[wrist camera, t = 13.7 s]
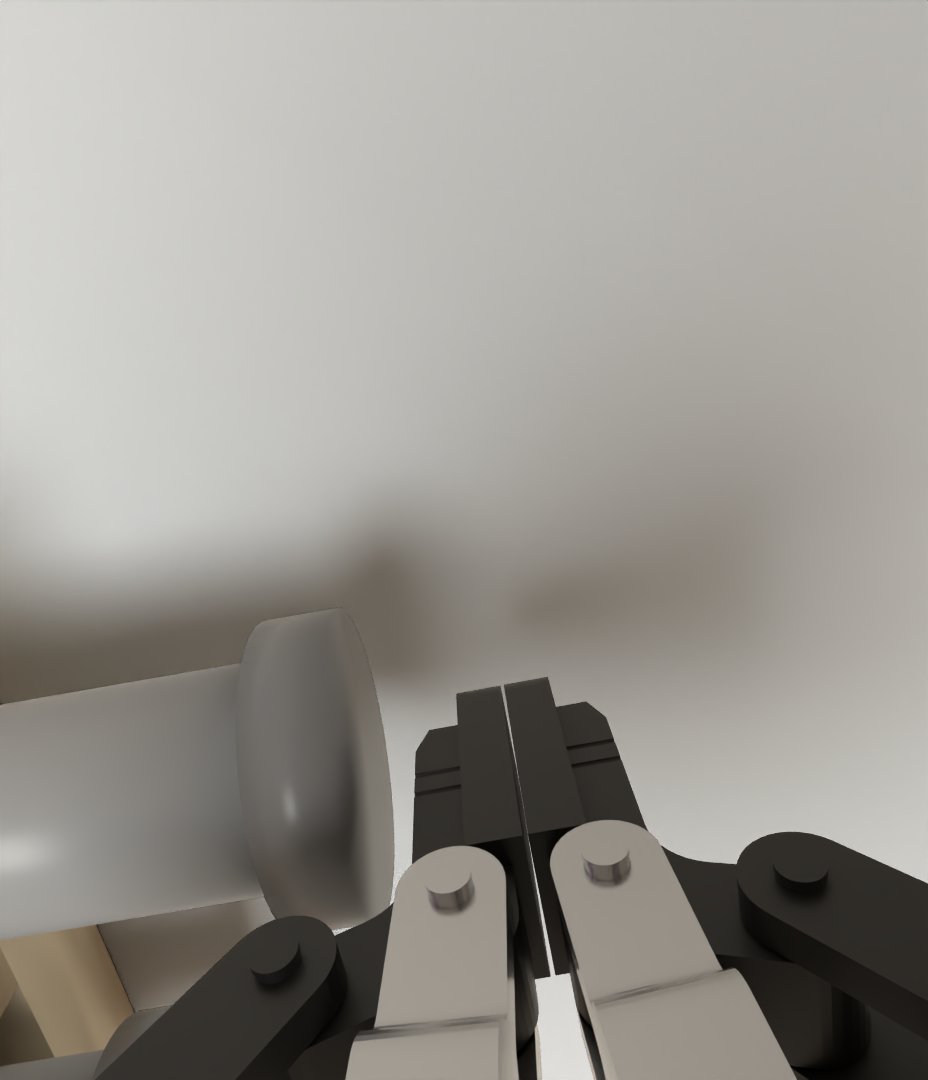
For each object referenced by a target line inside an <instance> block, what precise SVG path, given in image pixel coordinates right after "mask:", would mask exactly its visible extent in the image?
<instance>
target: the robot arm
mask: <svg viewBox="0 0 928 1080" xmlns="http://www.w3.org/2000/svg"><path fill="white" fill-rule="evenodd" d="M504 688H505V695H506V701H507V707H508V713H509V719H510V726H511V732H512V738H513V744H514V751H515V757H516V763H517V768H516V763H515V758H514V753H513V748H512V743H511V737H510V732H509V727H508V722H507V717H506V712H505V707H504V702H503V696H502V692H501V687H500V686H496V687H490V688H485V689H479V690H474V691H468V692H463V693H457V694H456V699H457V718H458V725H455V726H449V727H444V728H438V729H433V730H429V731H428V733H427V735H426V736H425V738H424V739H423V741H422V743H421V744H420V746H419V747H418V749H417V751H416V760H415V777H416V778H415V791H414V793H415V797H414V822H413V853H412V865H411V866H410V867H409V868H408V869H407V870H406V871H405V873H404V874H403V875H402V877H401V878H400V880H399V882H398V885H397V888H396V892H395V897H394V902H393V903H392V904H391V905H390V906H389V907H388V908H387V909H385V910H384V911H383V912H381V913H380V914H378V915H377V916H375V917H374V918H372V919H370V920H368V921H366V922H364V923H362V924H360V925H357V926H355V927H353V928H351V929H349V930H346V931H344V932H342V933H340V934H338V935H335V936H334V934H333V932H332V930H331V929H330V928H329V927H328V926H327V925H326V924H325V923H324V922H322V921H321V920H319V919H316V918H313V917H309V916H288V917H283V918H279V919H276V920H273V921H271V922H268V923H266V924H264V925H262V926H260V927H258V928H256V929H255V930H253V931H252V932H250V933H249V934H248V935H246V936H245V937H244V938H243V939H242V940H241V941H239V942H238V943H237V944H236V945H235V946H234V947H233V948H232V949H231V950H230V951H229V952H228V953H227V954H226V955H225V956H224V957H223V958H222V959H221V960H219V961H218V962H217V963H216V964H215V965H214V966H213V967H212V968H211V969H210V970H209V971H208V972H207V973H206V974H205V975H204V976H203V977H202V978H201V979H200V980H199V981H197V982H196V983H195V984H194V985H193V986H192V987H191V988H190V989H189V990H188V991H187V992H186V993H185V994H184V995H183V996H182V997H181V998H180V999H179V1000H178V1001H177V1002H175V1003H174V1004H173V1005H172V1006H171V1007H170V1008H169V1009H168V1010H167V1011H166V1012H165V1013H164V1014H163V1015H162V1016H161V1017H160V1018H159V1019H158V1020H157V1021H156V1022H155V1023H154V1024H152V1025H151V1026H150V1027H149V1028H148V1029H147V1030H146V1031H145V1032H144V1033H143V1034H142V1035H141V1036H140V1037H139V1038H138V1039H137V1040H136V1041H135V1042H134V1043H133V1044H132V1045H130V1046H129V1047H128V1048H127V1049H126V1050H125V1051H124V1052H123V1053H122V1054H121V1055H120V1056H119V1057H118V1058H117V1059H116V1060H115V1061H114V1062H113V1063H112V1064H111V1065H110V1066H108V1067H107V1068H106V1069H105V1070H104V1071H103V1072H102V1073H101V1074H100V1075H99V1076H98V1077H97V1078H96V1079H95V1080H542V1069H541V1050H540V1037H539V1031H538V1026H537V1021H538V1014H539V1011H538V1000H537V993H536V985H535V979H539V978H545V977H551V976H550V970H549V963H548V957H547V951H546V945H545V939H544V932H543V926H542V920H541V914H540V907H539V901H538V895H537V889H536V882H535V876H534V870H533V864H532V857H533V863H534V868H535V873H536V878H537V883H538V888H539V893H540V898H541V903H542V908H543V914H544V919H545V924H546V929H547V934H548V939H549V944H550V949H551V954H552V960H553V965H554V970H555V975H560V974H566V973H570V976H571V981H572V987H573V992H574V997H575V1001H576V1007H577V1012H578V1018H579V1023H580V1028H581V1034H582V1037H583V1041H584V1045H585V1048H586V1052H587V1056H588V1059H589V1063H590V1067H591V1070H592V1074H593V1078H594V1080H928V883H925V882H923V881H921V880H919V879H916V878H914V877H912V876H910V875H908V874H905V873H903V872H901V871H899V870H896V869H894V868H892V867H890V866H887V865H885V864H883V863H881V862H879V861H876V860H874V859H872V858H870V857H867V856H865V855H863V854H861V853H858V852H856V851H854V850H852V849H850V848H847V847H845V846H843V845H841V844H838V843H836V842H834V841H832V840H829V839H827V838H824V837H821V836H817V835H814V834H809V833H802V832H781V833H775V834H770V835H767V836H764V837H761V838H759V839H757V840H755V841H754V842H752V843H751V844H750V845H748V846H747V847H746V848H745V849H744V850H743V852H742V853H741V855H740V857H739V859H738V861H737V864H725V863H712V862H703V861H697V860H692V859H688V858H685V857H682V856H680V855H677V854H675V853H673V852H671V851H669V850H667V849H666V848H664V847H663V846H661V845H660V844H659V842H658V840H657V839H656V838H655V837H654V836H653V835H652V834H651V833H649V832H648V830H647V828H646V826H645V824H644V821H643V818H642V815H641V813H640V810H639V807H638V804H637V802H636V799H635V796H634V793H633V791H632V788H631V785H630V782H629V780H628V777H627V774H626V771H625V769H624V766H623V763H622V760H621V759H620V755H619V752H618V749H617V747H616V744H615V743H614V738H613V736H612V733H611V730H610V727H609V725H608V722H607V719H606V717H605V716H604V715H602V714H601V713H600V712H599V711H597V710H596V709H595V708H594V707H592V706H591V705H590V704H589V703H587V702H581V703H576V704H570V705H565V706H559V707H556V706H555V702H554V699H553V695H552V691H551V687H550V683H549V680H548V677H544V678H539V679H533V680H528V681H522V682H517V683H511V684H506V685H504ZM517 769H518V774H517ZM518 775H519V779H518ZM519 782H520V784H519ZM520 788H521V790H520ZM521 794H522V796H521ZM522 800H523V801H522ZM523 806H524V808H523ZM524 813H525V814H524ZM525 819H526V820H525ZM526 825H527V826H526ZM527 831H528V832H527ZM528 837H529V839H528ZM529 842H530V845H529ZM530 847H531V851H530ZM531 852H532V857H531Z"/></svg>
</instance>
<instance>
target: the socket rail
mask: <svg viewBox="0 0 928 1080" xmlns="http://www.w3.org/2000/svg"><path fill="white" fill-rule="evenodd" d="M133 1013H134V1011H133V1008H132V1006H131V1004H130V1002H129V999H128V997H127V995H126V992H125V990H124V988H123V986H122V983H121V981H120V979H119V976H118V974H117V972H116V969H115V967H114V965H113V963H112V960H111V958H110V956H109V953H108V951H107V949H106V947H105V944H104V942H103V940H102V937H101V935H100V933H99V930H98V928H97V926H96V925H91V926H85V927H79V928H73V929H67V930H61V931H55V932H49V933H43V934H37V935H31V936H24V937H18V938H12V939H6V940H0V1066H5V1065H11V1064H17V1063H24V1062H30V1061H36V1060H42V1059H48V1058H55V1057H61V1056H67V1055H73V1054H79V1053H86V1052H92V1051H98V1050H104V1049H105V1047H106V1045H107V1044H108V1042H109V1040H110V1038H111V1037H112V1035H113V1034H114V1032H115V1031H116V1029H117V1028H118V1027H119V1026H120V1025H121V1023H122V1022H123V1021H124V1020H125V1019H126V1018H128V1017H129V1016H130V1015H132V1014H133Z"/></svg>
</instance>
